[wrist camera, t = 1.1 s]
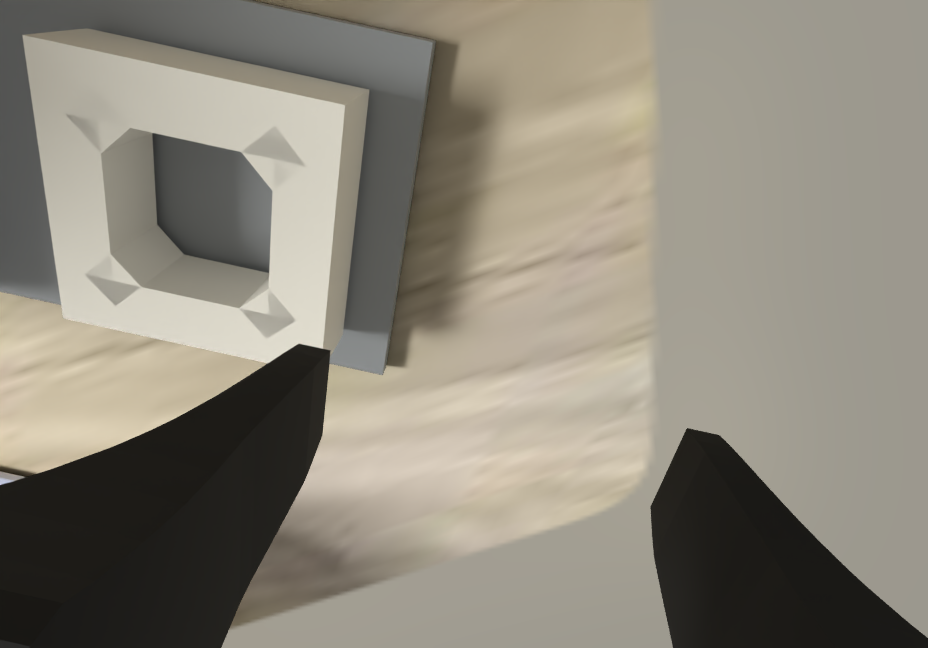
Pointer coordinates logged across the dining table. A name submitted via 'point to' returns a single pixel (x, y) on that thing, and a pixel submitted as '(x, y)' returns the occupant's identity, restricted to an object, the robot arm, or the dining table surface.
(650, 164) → the dining table surface
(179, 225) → the base board
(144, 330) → the holed block
